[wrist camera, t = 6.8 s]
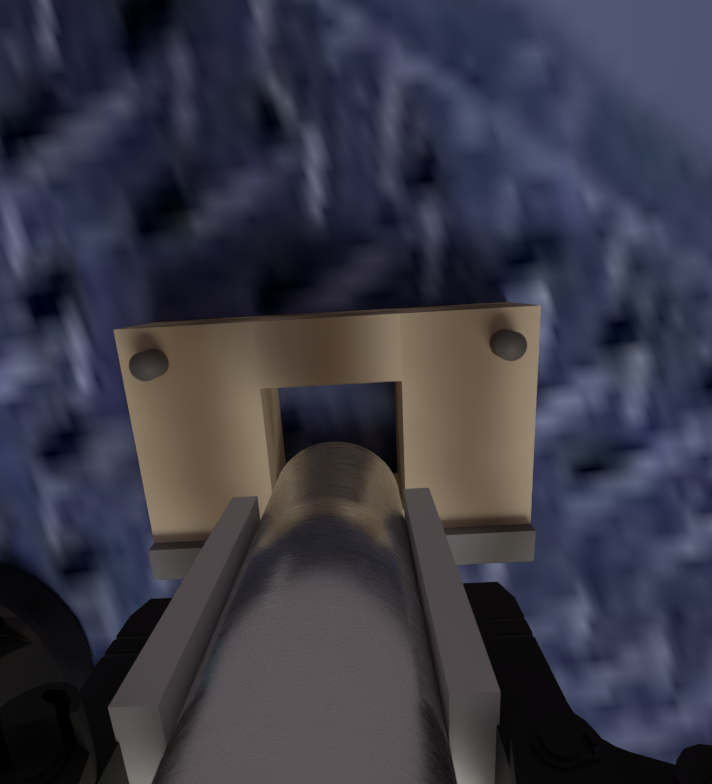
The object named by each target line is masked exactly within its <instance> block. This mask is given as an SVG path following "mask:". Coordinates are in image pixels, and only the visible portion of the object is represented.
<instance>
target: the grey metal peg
mask: <svg viewBox="0 0 712 784" xmlns="http://www.w3.org/2000/svg"><path fill="white" fill-rule="evenodd" d="M151 784H457V779H456V774H455V769H454V764H453V759H452V754H451V750H450V746H449V741H448V736H447V731H446V726H445V721H444V716H443V711H442V706H441V701H440V696H439V691H438V686H437V681H436V676H435V671H434V665H433V660H432V655H431V650H430V645H429V640H428V635H427V630H426V625H425V620H424V615H423V610H422V605H421V600H420V595H419V590H418V585H417V580H416V575H415V570H414V565H413V560H412V555H411V550H410V545H409V540H408V535H407V530H406V525H405V520H404V514H403V509H402V504H401V499H400V494H399V489H398V485H397V482H396V479H395V477H394V475H393V473H392V472H391V470H390V468H389V467H388V466H387V465H386V463H385V462H384V461H383V460H382V459H381V458H380V457H378V456H377V455H376V454H374V453H373V452H371V451H370V450H368V449H366V448H364V447H361V446H359V445H356V444H352V443H347V442H325V443H320V444H316V445H313V446H311V447H308V448H306V449H304V450H302V451H301V452H299V453H298V454H296V455H295V456H294V457H293V458H292V459H291V460H290V461H289V462H288V463H287V464H286V465H285V466H284V468H283V469H282V471H281V473H280V475H279V477H278V479H277V482H276V484H275V487H274V489H273V491H272V494H271V496H270V499H269V501H268V503H267V506H266V508H265V511H264V513H263V516H262V518H261V520H260V523H259V525H258V528H257V530H256V532H255V535H254V537H253V540H252V542H251V544H250V547H249V549H248V552H247V554H246V557H245V559H244V561H243V564H242V566H241V569H240V571H239V573H238V576H237V578H236V581H235V583H234V585H233V588H232V590H231V593H230V595H229V598H228V600H227V602H226V605H225V607H224V610H223V612H222V614H221V617H220V619H219V622H218V624H217V627H216V629H215V631H214V634H213V636H212V639H211V641H210V643H209V646H208V648H207V651H206V653H205V655H204V658H203V660H202V663H201V665H200V668H199V670H198V672H197V675H196V677H195V680H194V682H193V684H192V687H191V689H190V692H189V694H188V696H187V699H186V701H185V704H184V706H183V709H182V711H181V713H180V716H179V718H178V721H177V723H176V725H175V728H174V730H173V733H172V735H171V737H170V740H169V742H168V745H167V747H166V750H165V752H164V754H163V757H162V759H161V762H160V764H159V766H158V769H157V771H156V774H155V776H154V779H153V781H152V783H151Z"/></svg>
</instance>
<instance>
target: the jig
mask: <svg viewBox="0 0 712 784" xmlns="http://www.w3.org/2000/svg"><path fill="white" fill-rule="evenodd" d="M540 313H541V305H531V304H522V303H512V302H499V303H481V304H463V305H446V306H428V307H411V308H393V309H375V310H358V311H340V312H322V313H305V314H287V315H269V316H252V317H234V318H217V319H199V320H181V321H164V322H153V323H148V324H142V325H137V326H131V327H126V328H120V329H115V330H114V335H115V341H116V346H117V351H118V356H119V361H120V367H121V372H122V377H123V382H124V387H125V393H126V398H127V403H128V408H129V413H130V419H131V424H132V429H133V434H134V440H135V445H136V450H137V455H138V460H139V466H140V471H141V476H142V481H143V486H144V492H145V497H146V502H147V507H148V512H149V518H150V523H151V528H152V533H153V539H154V544H153V546H152V547H151V548H150V549H149V556H150V561H151V566H152V571H153V576H154V580H169V579H184V578H185V576H186V575H187V573H188V571H189V570H190V568H191V566H192V564H193V563H194V561H195V559H196V558H197V556H198V554H199V553H200V551H201V549H202V548H203V546H204V544H205V543H206V541H207V539H208V537H209V536H210V534H211V532H212V531H213V529H214V527H215V526H216V524H217V522H218V521H219V519H220V517H221V516H222V514H223V512H224V510H225V509H226V507H227V505H228V504H229V502H230V500H231V499H232V497H248V496H257V497H258V505H259V513H260V520H261V518H262V516H263V513H264V511H265V508H266V506H267V503H268V501H269V499H270V496H271V494H272V491H273V489H274V487H275V484H276V482H277V479H278V477H279V475H280V473H281V471H282V469H283V468H284V466H285V465H286V460H285V450H284V440H283V431H282V421H281V411H280V401H279V392H278V388H282V387H300V386H319V385H337V384H355V383H373V382H391V381H394V388H395V417H396V446H397V473H393V475H394V477H395V479H396V482H397V485H398V489H399V494H400V499H401V504H402V509H403V514H404V490H403V489H411V488H429V489H430V492H431V495H432V498H433V501H434V503H435V506H436V509H437V512H438V515H439V518H440V521H441V523H442V526H443V529H444V532H445V535H446V538H447V540H448V543H449V546H450V549H451V552H452V555H453V558H454V560H455V563H456V565H464V564H484V563H503V562H523V561H534V551H535V532H536V531H535V529H534V528H533V527H532V525H531V524H530V521H531V500H532V479H533V458H534V438H535V417H536V396H537V375H538V355H539V334H540Z"/></svg>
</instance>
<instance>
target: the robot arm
mask: <svg viewBox="0 0 712 784" xmlns="http://www.w3.org/2000/svg"><path fill="white" fill-rule="evenodd" d="M403 490H404V520H405V525H406V530H407V535H408V540H409V545H410V550H411V555H412V560H413V565H414V570H415V575H416V580H417V585H418V590H419V595H420V600H421V605H422V610H423V615H424V620H425V625H426V630H427V635H428V640H429V645H430V650H431V655H432V660H433V665H434V671H435V676H436V681H437V686H438V691H439V696H440V701H441V706H442V711H443V716H444V721H445V726H446V731H447V736H448V741H449V746H450V750H451V754H452V759H453V764H454V769H455V774H456V779H457V784H712V746H711V745H703V744H697V745H694V746H691V747H688V748H685V749H684V750H683V751H682V753H681V754H680V756H679V758H678V759H677V761H676V765H674V764H671V763H667V762H663V761H660V760H656V759H653V758H649V757H646V756H642V755H639V754H635V753H632V752H629V751H626V750H624V749H621V748H618V747H616V746H614V745H612V744H610V743H608V742H607V741H605V740H603V739H601V737H600V736H599V735H598V734H597V733H596V731H595V730H594V729H593V728H592V727H591V726H590V725H589V724H588V723H587V722H586V721H585V720H584V719H582V718H581V717H579V716H578V715H576V714H575V713H574V712H573V711H572V709H571V708H570V706H569V704H568V703H567V701H566V699H565V697H564V695H563V693H562V691H561V689H560V687H559V685H558V683H557V681H556V679H555V677H554V675H553V673H552V671H551V669H550V667H549V665H548V663H547V661H546V659H545V657H544V655H543V653H542V651H541V649H540V647H539V645H538V643H537V641H536V639H535V637H533V635H532V631H531V629H530V627H529V625H528V623H527V621H525V619H524V615H523V613H522V611H521V609H520V607H519V605H518V603H517V601H516V599H515V597H513V596H512V595H511V594H510V593H509V592H508V591H507V590H506V589H505V588H504V587H502V586H501V585H500V584H499V583H498V582H484V583H462V580H461V577H460V575H459V572H458V569H457V566H456V563H455V560H454V558H453V555H452V552H451V549H450V546H449V543H448V540H447V538H446V535H445V532H444V529H443V526H442V523H441V521H440V518H439V515H438V512H437V509H436V506H435V503H434V501H433V498H432V495H431V492H430V489H429V488H411V489H403ZM259 523H260V513H259V505H258V497H257V496H248V497H232V499H231V500H230V502H229V504H228V505H227V507H226V509H225V510H224V512H223V514H222V516H221V517H220V519H219V521H218V522H217V524H216V526H215V527H214V529H213V531H212V532H211V534H210V536H209V537H208V539H207V541H206V543H205V544H204V546H203V548H202V549H201V551H200V553H199V554H198V556H197V558H196V559H195V561H194V563H193V564H192V566H191V568H190V570H189V571H188V573H187V575H186V576H185V578H184V580H183V581H182V583H181V585H180V586H179V588H178V590H177V591H176V593H175V595H174V597H173V598H162V599H150V600H149V601H148V602H147V603H145V604H144V605H143V606H142V607H141V608H139V609H138V610H137V611H136V612H135V613H134V614H132V615H131V616H130V617H129V619H128V620H127V622H126V623H125V625H124V626H123V628H122V629H121V630H120V632H119V633H118V635H117V638H116V640H114V641H113V642H112V644H111V645H110V646H109V648H108V649H107V651H106V652H105V656H104V657H102V658H101V660H100V661H99V662H98V664H97V665H96V667H95V668H94V670H93V671H92V660H91V655H90V651H89V647H88V644H87V642H86V639H85V637H84V635H83V633H82V631H81V629H80V627H79V625H78V624H77V622H76V621H75V619H74V618H73V616H72V615H71V614H70V612H69V611H68V610H67V609H66V607H65V606H64V605H63V604H62V603H61V602H60V601H59V600H58V599H57V598H56V597H55V596H54V595H53V594H52V593H50V592H49V591H48V590H47V589H46V588H44V587H43V586H42V585H40V584H39V583H38V582H36V581H34V580H33V579H31V578H30V577H28V576H26V575H25V574H23V573H21V572H19V571H17V570H15V569H13V568H11V567H9V566H6V565H4V564H1V563H0V784H151V783H152V781H153V779H154V776H155V774H156V771H157V769H158V766H159V764H160V762H161V759H162V757H163V754H164V752H165V750H166V747H167V745H168V742H169V740H170V737H171V735H172V733H173V730H174V728H175V725H176V723H177V721H178V718H179V716H180V713H181V711H182V709H183V706H184V704H185V701H186V699H187V696H188V694H189V692H190V689H191V687H192V684H193V682H194V680H195V677H196V675H197V672H198V670H199V668H200V665H201V663H202V660H203V658H204V655H205V653H206V651H207V648H208V646H209V643H210V641H211V639H212V636H213V634H214V631H215V629H216V627H217V624H218V622H219V619H220V617H221V614H222V612H223V610H224V607H225V605H226V602H227V600H228V598H229V595H230V593H231V590H232V588H233V585H234V583H235V581H236V578H237V576H238V573H239V571H240V569H241V566H242V564H243V561H244V559H245V557H246V554H247V552H248V549H249V547H250V544H251V542H252V540H253V537H254V535H255V532H256V530H257V528H258V525H259Z"/></svg>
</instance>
